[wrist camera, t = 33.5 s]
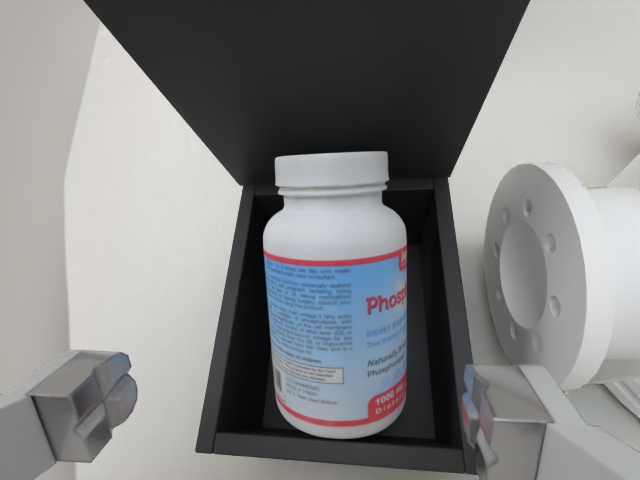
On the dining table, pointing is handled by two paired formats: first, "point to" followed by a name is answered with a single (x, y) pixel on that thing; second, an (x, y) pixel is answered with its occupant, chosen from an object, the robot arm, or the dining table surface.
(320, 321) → the pill bottle
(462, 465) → the box
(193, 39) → the chamber lid
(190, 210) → the dining table surface
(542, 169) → the housing
